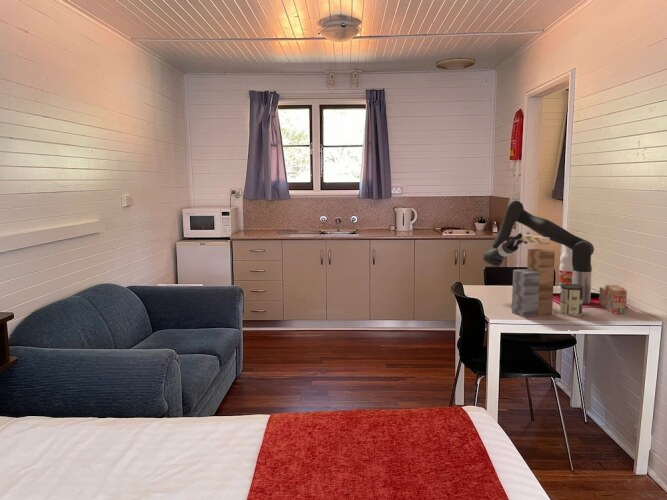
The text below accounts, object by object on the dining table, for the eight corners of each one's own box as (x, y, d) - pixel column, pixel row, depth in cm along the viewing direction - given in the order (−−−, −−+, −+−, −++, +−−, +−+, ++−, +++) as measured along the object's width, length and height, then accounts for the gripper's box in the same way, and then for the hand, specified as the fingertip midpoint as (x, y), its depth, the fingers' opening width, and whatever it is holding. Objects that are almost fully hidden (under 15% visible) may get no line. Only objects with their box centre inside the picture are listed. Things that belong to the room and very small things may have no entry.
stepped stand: (552, 315, 254) (554, 251, 250) (523, 317, 250) (526, 252, 246) (539, 310, 264) (541, 248, 259) (511, 312, 260) (513, 250, 255)
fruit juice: (578, 290, 309) (581, 243, 305) (569, 292, 304) (571, 245, 300) (564, 287, 317) (566, 242, 313) (555, 289, 312) (557, 243, 308)
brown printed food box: (598, 303, 276) (599, 281, 274) (611, 304, 274) (612, 281, 273) (612, 314, 255) (613, 289, 253) (625, 314, 254) (627, 290, 252)
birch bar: (549, 244, 246) (549, 237, 246) (542, 244, 245) (542, 238, 245) (524, 239, 265) (524, 233, 265) (517, 239, 264) (517, 233, 264)
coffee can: (571, 310, 263) (573, 283, 261) (586, 315, 253) (588, 287, 251) (554, 311, 260) (556, 284, 258) (569, 316, 250) (571, 288, 249)
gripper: (494, 241, 276) (510, 228, 261) (517, 240, 280) (535, 227, 264) (497, 254, 274) (514, 242, 258) (521, 253, 277) (539, 240, 262)
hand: (525, 234), depth 261 cm, fingers closed on birch bar, 4 cm apart
